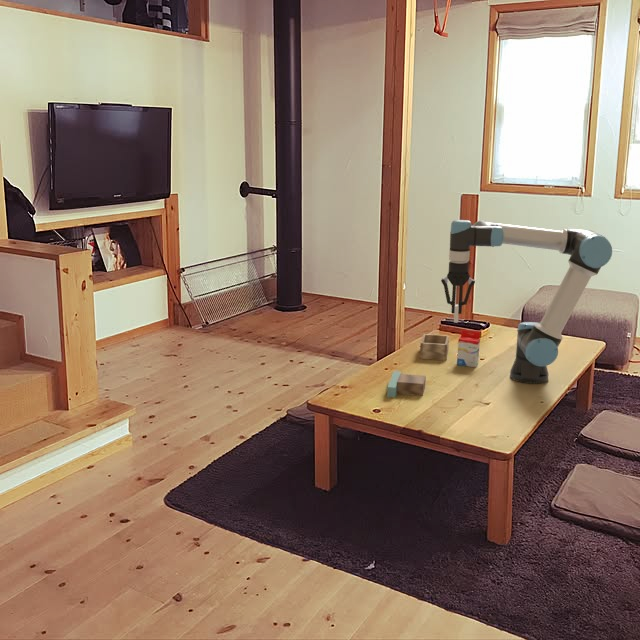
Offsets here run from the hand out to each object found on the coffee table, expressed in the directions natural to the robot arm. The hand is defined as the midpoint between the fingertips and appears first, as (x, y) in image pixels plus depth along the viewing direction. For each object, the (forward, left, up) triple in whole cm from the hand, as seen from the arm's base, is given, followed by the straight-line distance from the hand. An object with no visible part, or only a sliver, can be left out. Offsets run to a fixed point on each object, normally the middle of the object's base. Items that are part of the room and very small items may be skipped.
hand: (456, 321), depth 302 cm
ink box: (-5, -30, -27) cm, 40 cm away
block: (+16, +8, -27) cm, 32 cm away
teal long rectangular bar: (+22, +8, -26) cm, 35 cm away
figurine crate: (+10, -42, -26) cm, 51 cm away
